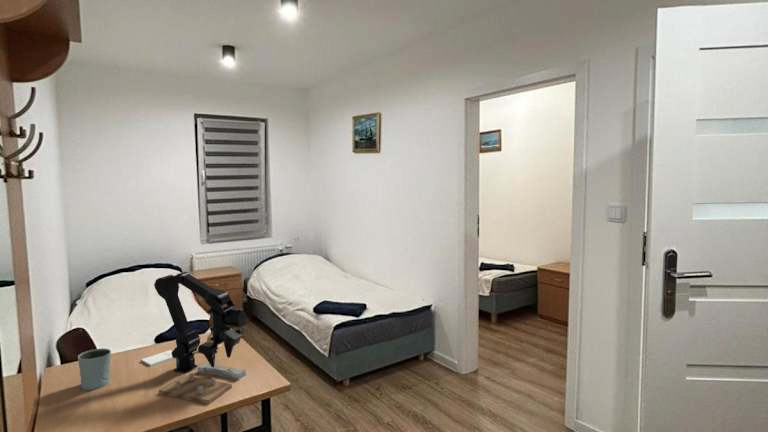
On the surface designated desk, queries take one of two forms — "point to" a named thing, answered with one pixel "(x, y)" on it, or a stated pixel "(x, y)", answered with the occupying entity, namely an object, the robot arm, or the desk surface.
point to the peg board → (195, 389)
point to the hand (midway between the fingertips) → (221, 362)
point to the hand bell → (211, 333)
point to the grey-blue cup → (94, 368)
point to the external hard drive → (157, 358)
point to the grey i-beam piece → (222, 371)
